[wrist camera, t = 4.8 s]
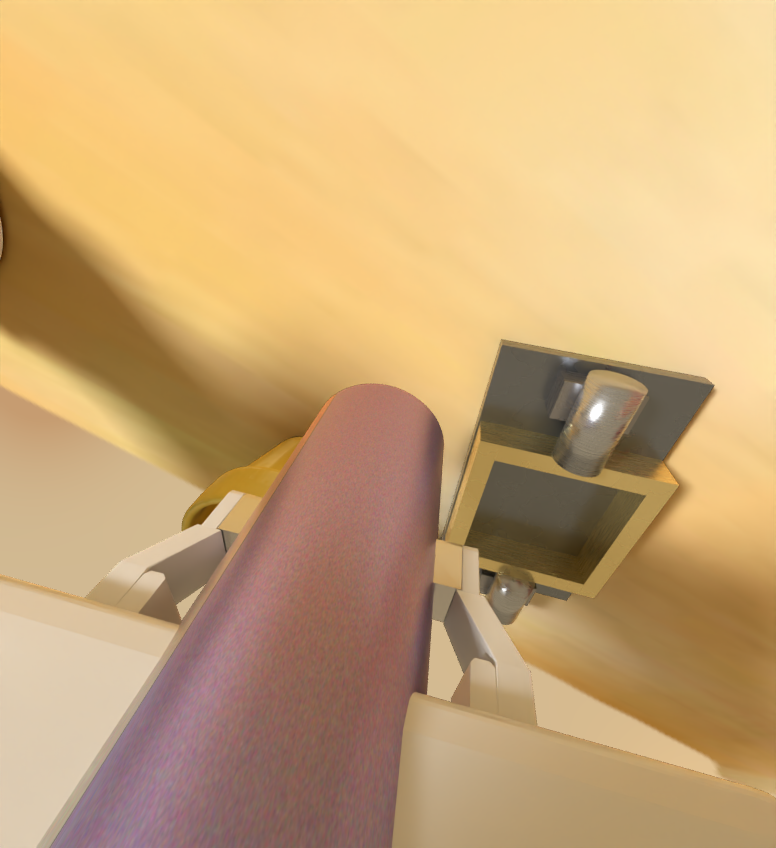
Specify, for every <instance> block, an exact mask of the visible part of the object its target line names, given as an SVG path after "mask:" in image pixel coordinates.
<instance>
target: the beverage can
mask: <svg viewBox="0 0 776 848" xmlns="http://www.w3.org/2000/svg"><path fill="white" fill-rule="evenodd" d="M443 450H444V440H443V434H442V430H441V427H440V425H439V423H438V421H437V419H436V418H435V416H434V414H433V413H432V412H431V411H430V409H429V408H428V407H427V406H426V405H425V404H424V403H422V402H421V401H420V400H419V399H417V398H416V397H415V396H413V395H411V394H410V393H408V392H406V391H404V390H401V389H399V388H396V387H392V386H388V385H383V384H361V385H355V386H352V387H349V388H346V389H344V390H342V391H340V392H338V393H337V394H335V395H334V396H332V397H331V398H330V399H329V400H328V401H327V402H326V403H325V405H324V406H323V407H322V409H321V410H320V412H319V413H318V415H317V416H316V418H315V420H314V421H313V423H312V424H311V426H310V427H309V429H308V430H307V432H306V433H305V435H304V436H303V438H302V439H301V441H300V442H299V444H298V445H297V447H296V448H295V450H294V451H293V453H292V454H291V456H290V457H289V459H288V460H287V462H286V463H285V465H284V467H283V468H282V470H281V471H280V473H279V474H278V476H277V477H276V479H275V480H274V482H273V483H272V485H271V486H270V488H269V489H268V491H267V492H266V494H265V495H264V497H263V498H262V500H261V501H260V503H259V504H258V506H257V507H256V509H255V510H254V512H253V514H252V515H251V517H250V518H249V520H248V521H247V523H246V524H245V526H244V527H243V529H242V530H241V532H240V533H239V535H238V536H237V538H236V539H235V541H234V542H233V544H232V545H231V547H230V548H229V550H228V551H227V553H226V554H225V556H224V557H223V559H222V561H221V562H220V564H219V565H218V567H217V568H216V570H215V571H214V573H213V574H212V576H211V577H210V579H209V580H208V582H207V583H206V585H205V586H204V588H203V590H202V591H201V592H200V594H199V595H198V597H197V599H196V600H195V602H194V603H193V604H192V606H191V608H190V609H189V611H188V612H187V614H186V615H185V617H184V618H183V620H182V621H181V623H180V624H179V628H178V630H177V632H176V633H175V635H174V637H173V638H172V640H171V642H170V643H169V645H168V647H167V648H166V650H165V652H164V653H163V655H162V657H161V658H160V660H159V661H158V663H157V664H156V666H155V667H154V669H153V670H152V672H151V673H150V675H149V676H148V678H147V679H146V681H145V683H144V684H143V686H142V687H141V689H140V690H139V692H138V693H137V695H136V696H135V698H134V699H133V701H132V702H131V704H130V705H129V707H128V708H127V710H126V711H125V713H124V714H123V716H122V717H121V719H120V720H119V722H118V724H117V725H116V727H115V728H114V730H113V731H112V733H111V734H110V736H109V737H108V739H107V740H106V742H105V743H104V745H103V746H102V748H101V749H100V751H99V752H98V754H97V755H96V757H95V758H94V760H93V762H92V763H91V765H90V766H89V768H88V769H87V771H86V772H85V774H84V775H83V777H82V778H81V780H80V781H79V783H78V784H77V786H76V787H75V789H74V790H73V792H72V793H71V795H70V796H69V798H68V800H67V801H66V803H65V804H64V806H63V807H62V809H61V810H60V812H59V813H58V815H57V816H56V818H55V819H54V821H53V822H52V824H51V825H50V827H49V828H48V830H47V831H46V833H45V834H44V836H43V838H42V839H41V841H40V842H39V844H38V845H37V847H36V848H392V839H393V829H394V818H395V808H396V798H397V787H398V777H399V766H400V756H401V745H402V735H403V727H404V723H405V718H406V713H407V708H408V704H409V700H410V697H411V695H412V694H413V693H414V692H418V693H421V694H425V695H427V684H428V670H429V656H430V641H431V626H432V612H433V597H434V584H433V577H434V563H435V549H436V540H437V538H438V524H439V509H440V494H441V480H442V465H443Z"/></svg>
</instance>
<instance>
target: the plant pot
mask: <svg viewBox="0 0 776 848" xmlns="http://www.w3.org/2000/svg"><path fill="white" fill-rule="evenodd" d="M302 438H303V437H293V438H290V439H287V440H285V441H283V442H282V443H280V444H279V445H277V446H276V447H274V448H273V449H272V450H270V451H269V452H267V453H266V454H264V455H263V456H261V457H260V458H259V459H257V460H256V461H254V462H253V463H251V464H250V465H248V466H245V467H239V468H235V469H232V470H230V471H228V472H226V473H224V474H223V475H221V476H220V477H219V478H218V479H217V480H216V481H214V482H213V483H212V484H211V485H210V486H209V487H208V488H207V489H206V490H205V491H204V492H203V493H202V494H201V495H200V496H199V497H198V498H197V500H196V501H195V502H194V503H193V504H192V505H191V506H190V507H189V509H188V510H187V511H186V513H185V515H184V518H183V521H182V531H184V530H186V529H188V528H190V527H192V526H195V525H197V524H199V525H202V524H203V523H204V521H205V520H206V519H207V518H208V517H209V515H210V514H211V513H212V512H213V511H214V509H215V508H216V507H217V506H218V505H219V503H220V502H221V501H222V500H223V499H224V497H225V496H226V495H227V494H228V493H229V492H230V491H232V490H235V491H239V492H243V493H247V494H251V495H255V496H258V497H262V498H263V497H264V495H265V494H266V492H267V491H268V489H269V488H270V486H271V485H272V483H273V482H274V480H275V479H276V477H277V476H278V474H279V473H280V471H281V470H282V468H283V467H284V465H285V463H286V462H287V460H288V459H289V457H290V456H291V454H292V453H293V451H294V450H295V448H296V447H297V445H298V444H299V442H300V441H301V439H302Z"/></svg>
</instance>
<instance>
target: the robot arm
mask: <svg viewBox="0 0 776 848" xmlns="http://www.w3.org/2000/svg"><path fill="white" fill-rule="evenodd" d="M2 248H3V233H2V225H1V219H0V258H1V254H2ZM261 500H262V497H258V496H255V495H251V494H247V493H243V492H239V491H235V490H232V491H230V492H229V493H228V494H227V495H226V496H225V497H224V499H223V500H222V501H221V502H220V503H219V505H218V506H217V507H216V508H215V509H214V511H213V512H212V513H211V514H210V515H209V517H208V518H207V519H206V520H205V521H204V523H203V524H202V525H199V524H197V525H195V526H192V527H190V528H188V529H186V530H184V531H182V532H180V533H178V534H176V535H174V536H171V537H169V538H167V539H165V540H163V541H161V542H159V543H157V544H155V545H152V546H150V547H148V548H146V549H144V550H142V551H140V552H138V553H136V554H134V555H131V556H130V557H127V558H125V559H123V560H121V561H120V562H119V563H118V564H117V565H116V566H115V567H114V568H113V569H112V570H111V571H110V572H109V573H108V574H107V575H106V576H105V577H104V578H103V579H102V580H101V581H100V582H99V583H98V584H97V585H96V587H95V588H94V589H93V590H92V591H91V592H90V593H89V594H88V595H87V596H86V597H85V598H83V597H79V596H76V595H72V594H69V593H65V592H62V591H58V590H55V589H51V588H48V587H43V586H40V585H37V584H33V583H30V582H26V581H23V580H19V579H16V578H12V577H9V576H5V575H2V574H0V848H36V847H37V845H38V844H39V842H40V841H41V839H42V838H43V836H44V834H45V833H46V831H47V830H48V828H49V827H50V825H51V824H52V822H53V821H54V819H55V818H56V816H57V815H58V813H59V812H60V810H61V809H62V807H63V806H64V804H65V803H66V801H67V800H68V798H69V796H70V795H71V793H72V792H73V790H74V789H75V787H76V786H77V784H78V783H79V781H80V780H81V778H82V777H83V775H84V774H85V772H86V771H87V769H88V768H89V766H90V765H91V763H92V762H93V760H94V758H95V757H96V755H97V754H98V752H99V751H100V749H101V748H102V746H103V745H104V743H105V742H106V740H107V739H108V737H109V736H110V734H111V733H112V731H113V730H114V728H115V727H116V725H117V724H118V722H119V720H120V719H121V717H122V716H123V714H124V713H125V711H126V710H127V708H128V707H129V705H130V704H131V702H132V701H133V699H134V698H135V696H136V695H137V693H138V692H139V690H140V689H141V687H142V686H143V684H144V683H145V681H146V679H147V678H148V676H149V675H150V673H151V672H152V670H153V669H154V667H155V666H156V664H157V663H158V661H159V660H160V658H161V657H162V655H163V653H164V652H165V650H166V648H167V647H168V645H169V643H170V642H171V640H172V638H173V637H174V635H175V633H176V632H177V630H178V628H179V624H180V623H181V617H180V614H179V612H178V609H177V606H176V605H177V604H178V603H179V602H181V601H182V600H183V599H185V598H186V597H188V596H189V595H191V594H192V593H194V592H195V591H196V590H198V589H199V588H201V587H202V586H204V585H205V584H206V583H207V582H208V580H209V579H210V577H211V576H212V574H213V573H214V571H215V570H216V568H217V567H218V565H219V564H220V562H221V561H222V559H223V557H224V556H225V554H226V553H227V551H228V550H229V548H230V547H231V545H232V544H233V542H234V541H235V539H236V538H237V536H238V535H239V533H240V532H241V530H242V529H243V527H244V526H245V524H246V523H247V521H248V520H249V518H250V517H251V515H252V514H253V512H254V510H255V509H256V507H257V506H258V504H259V503H260V501H261ZM433 584H434V597H433V612H432V619H434V620H437V621H440V622H444V626H445V629H446V631H447V634H448V636H449V639H450V641H451V644H452V646H453V648H454V651H455V653H456V655H457V658H458V661H459V663H460V666H461V668H462V671H463V673H464V675H463V677H462V679H461V681H460V683H459V685H458V686H457V688H456V690H455V692H454V694H453V696H452V698H451V702H450V701H446V700H442V699H439V698H435V697H432V696H428V695H425V694H421V693H418V692H414V693H413V694H412V695H411V697H410V700H409V704H408V708H407V713H406V718H405V723H404V727H403V735H402V745H401V756H400V766H399V777H398V787H397V798H396V808H395V818H394V829H393V839H392V848H776V798H775V797H774V796H772V795H770V794H769V793H766V792H764V791H761V790H758V789H756V788H753V787H750V786H747V785H743V784H739V783H736V782H732V781H729V780H725V779H721V778H718V777H714V776H711V775H707V774H704V773H700V772H696V771H693V770H689V769H686V768H682V767H679V766H676V765H672V764H668V763H665V762H661V761H658V760H654V759H651V758H647V757H644V756H640V755H637V754H633V753H630V752H626V751H622V750H619V749H616V748H612V747H609V746H605V745H601V744H598V743H594V742H591V741H587V740H584V739H580V738H577V737H573V736H570V735H566V734H563V733H559V732H556V731H552V730H548V729H545V728H541V727H538V726H537V720H536V713H535V712H536V711H535V703H534V695H533V687H532V679H531V671H530V670H529V668H528V666H527V665H526V663H525V662H524V660H523V658H522V657H521V655H520V653H519V652H518V650H517V649H516V647H515V645H514V644H513V642H512V640H511V639H510V637H509V636H508V634H507V632H506V631H505V629H504V627H503V626H502V624H501V622H500V621H499V619H498V618H497V616H496V614H495V613H494V611H493V609H492V608H491V606H490V605H489V603H488V601H487V600H486V598H485V596H481V595H480V581H479V551H478V549H477V548H473V547H468V546H464V545H461V544H457V543H452V542H448V541H444V540H439V539H437V540H436V549H435V563H434V577H433Z"/></svg>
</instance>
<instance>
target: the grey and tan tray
mask: <svg viewBox="0 0 776 848" xmlns="http://www.w3.org/2000/svg"><path fill="white" fill-rule="evenodd" d="M713 387H714V384H712V383H711V382H710V381H709V380H707V379H706V378H704V377H698V376H693V375H688V374H682V373H677V372H672V371H666V370H661V369H656V368H651V367H645V366H640V365H635V364H629V363H624V362H619V361H613V360H608V359H603V358H597V357H592V356H587V355H582V354H576V353H571V352H566V351H560V350H555V349H550V348H544V347H539V346H534V345H528V344H523V343H518V342H513V341H507V340H502V339H501V342H500V346H499V349H498V352H497V356H496V359H495V362H494V366H493V369H492V372H491V375H490V379H489V382H488V385H487V389H486V392H485V395H484V399H483V402H482V405H481V409H480V412H479V415H478V419H477V422H476V425H475V428H474V432H473V435H472V438H471V442H470V445H469V448H468V452H467V455H466V458H465V462H464V465H463V468H462V472H461V475H460V478H459V481H458V485H457V488H456V491H455V495H454V498H453V501H452V505H451V508H450V511H449V515H448V518H447V521H446V525H445V528H444V531H443V535H442V538H441V540H444V541H448V542H452V543H457V544H461V545H464V546H468V547H473V548H477V549H478V551H479V581H480V593H482V594H486V595H485V598H486V600H487V601H488V603H489V605H490V606H491V608H492V609H493V611H494V613H495V614H496V616H497V618H498V619H499V621H500V622H501V624H503V625H509V624H512V623H513V622H514V621H515V620H516V618H517V617H518V615H519V613H520V611H521V610H522V608H523V606H524V605H525V606H527V605H528V603H529V602H530V600H531V598H532V597H533V595H534V593H535V592H536V593H540V594H544V595H547V596H551V597H555V598H558V599H562V600H566V601H567V599H568V598H569V596H570V595H571V593H575V594H579V595H582V596H586V597H590V598H593V599H594V598H595V596H596V595H597V594H598V592H599V591H600V590H601V588H602V587H603V586H604V585H605V583H606V582H607V581H608V579H609V578H610V577H611V575H612V574H613V573H614V571H615V570H616V569H617V567H618V566H619V565H620V563H621V562H622V561H623V559H624V558H625V557H626V555H627V554H628V553H629V551H630V550H631V549H632V547H633V546H634V545H635V543H636V542H637V541H638V540H639V538H640V537H641V536H642V534H643V533H644V532H645V530H646V529H647V528H648V526H649V525H650V524H651V522H652V521H653V520H654V518H655V517H656V516H657V514H658V513H659V512H660V510H661V509H662V508H663V506H664V505H665V504H666V502H667V501H668V500H669V499H670V497H671V496H672V495H673V493H674V492H675V491H676V489H677V488H678V487H679V484H678V483H677V482H676V480H675V479H674V477H673V476H672V474H671V473H670V471H669V470H668V469H667V467H666V466H665V464H664V463H663V459H664V458H665V457H666V455H667V454H668V452H669V451H670V449H671V448H672V446H673V445H674V443H675V442H676V441H677V439H678V438H679V436H680V435H681V433H682V432H683V430H684V429H685V427H686V426H687V425H688V423H689V422H690V420H691V419H692V417H693V416H694V414H695V413H696V411H697V410H698V409H699V407H700V406H701V404H702V403H703V401H704V400H705V398H706V397H707V395H708V394H709V393H710V391H711V390H712V388H713Z"/></svg>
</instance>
